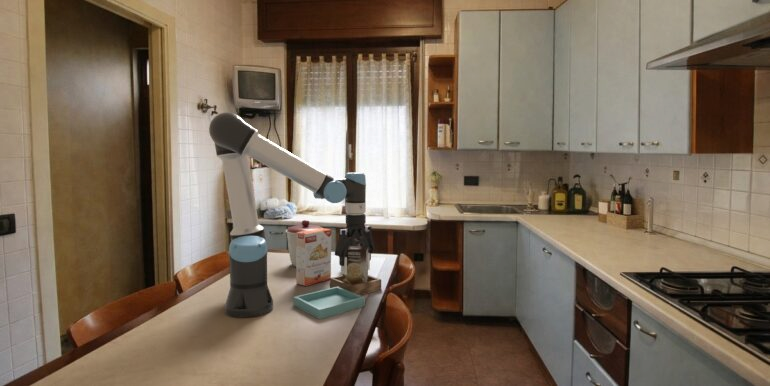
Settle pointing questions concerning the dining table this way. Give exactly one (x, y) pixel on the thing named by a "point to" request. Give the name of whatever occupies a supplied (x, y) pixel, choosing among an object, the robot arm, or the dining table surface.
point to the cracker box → (313, 256)
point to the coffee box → (356, 265)
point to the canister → (292, 237)
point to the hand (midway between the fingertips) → (355, 271)
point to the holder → (357, 285)
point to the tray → (329, 302)
